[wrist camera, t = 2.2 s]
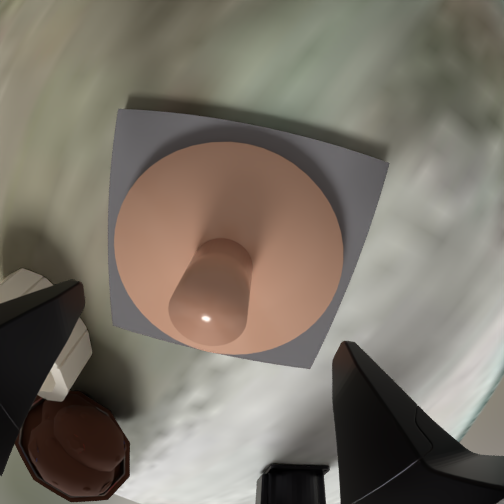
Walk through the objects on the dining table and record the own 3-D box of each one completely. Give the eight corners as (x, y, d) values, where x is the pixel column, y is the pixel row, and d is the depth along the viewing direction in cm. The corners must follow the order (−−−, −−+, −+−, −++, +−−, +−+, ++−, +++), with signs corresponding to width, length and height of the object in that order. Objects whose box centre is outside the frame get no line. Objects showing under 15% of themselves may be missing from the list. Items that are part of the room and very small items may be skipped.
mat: (384, 161, 11) (389, 163, 11) (309, 362, 16) (310, 368, 16) (124, 109, 11) (118, 108, 10) (116, 319, 16) (112, 325, 15)
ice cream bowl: (46, 392, 24) (47, 341, 17) (124, 442, 26) (167, 419, 19) (10, 457, 15) (-19, 444, 8) (97, 510, 17) (129, 532, 10)
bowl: (81, 289, 15) (46, 327, 12) (99, 380, 19) (79, 416, 15) (-3, 257, 15) (-37, 282, 11) (22, 344, 19) (-1, 371, 15)
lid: (367, 173, 11) (415, 197, 7) (302, 357, 15) (309, 421, 11) (129, 127, 11) (69, 132, 7) (124, 319, 15) (90, 372, 11)
